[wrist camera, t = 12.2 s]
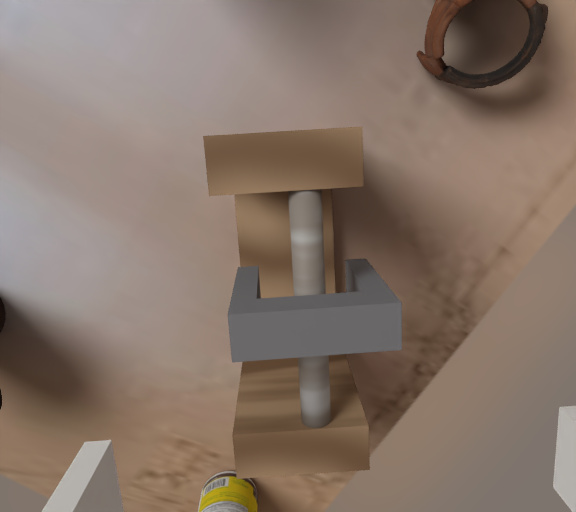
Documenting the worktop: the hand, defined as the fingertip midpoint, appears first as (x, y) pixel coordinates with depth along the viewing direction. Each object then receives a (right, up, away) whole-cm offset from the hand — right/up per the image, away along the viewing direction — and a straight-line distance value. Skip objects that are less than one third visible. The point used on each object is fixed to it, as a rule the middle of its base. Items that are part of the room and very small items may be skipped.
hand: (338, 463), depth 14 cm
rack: (-1, +7, +28) cm, 29 cm away
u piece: (0, +4, +19) cm, 20 cm away
